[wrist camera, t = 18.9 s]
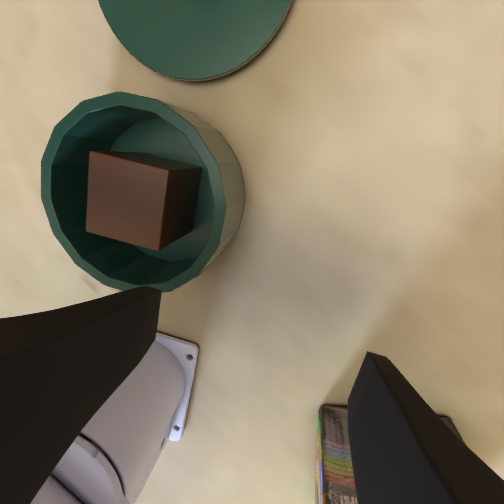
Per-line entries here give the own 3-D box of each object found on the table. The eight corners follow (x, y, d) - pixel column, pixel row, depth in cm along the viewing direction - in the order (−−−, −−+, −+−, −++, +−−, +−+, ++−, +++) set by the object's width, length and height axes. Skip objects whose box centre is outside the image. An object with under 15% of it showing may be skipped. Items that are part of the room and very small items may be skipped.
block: (192, 231, 21) (158, 252, 16) (133, 216, 21) (85, 231, 17) (202, 167, 19) (168, 169, 15) (139, 152, 20) (88, 150, 15)
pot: (228, 283, 22) (205, 315, 17) (94, 245, 23) (40, 266, 18) (260, 128, 19) (243, 118, 14) (103, 93, 20) (40, 74, 15)
